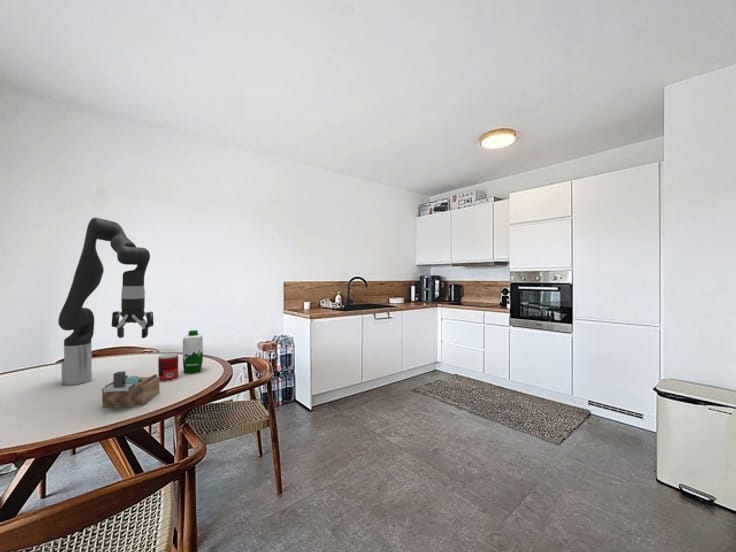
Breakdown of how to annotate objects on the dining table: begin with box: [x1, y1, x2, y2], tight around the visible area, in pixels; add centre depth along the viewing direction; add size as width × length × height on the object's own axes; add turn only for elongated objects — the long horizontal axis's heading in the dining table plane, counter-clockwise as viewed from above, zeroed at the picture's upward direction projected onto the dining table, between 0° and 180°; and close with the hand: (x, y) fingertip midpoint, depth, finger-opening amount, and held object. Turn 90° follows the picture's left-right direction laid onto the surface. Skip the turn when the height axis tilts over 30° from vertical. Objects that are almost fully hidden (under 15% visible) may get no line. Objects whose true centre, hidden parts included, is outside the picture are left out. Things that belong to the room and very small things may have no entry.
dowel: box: [126, 375, 139, 385], centre depth 125 cm, size 4×4×9 cm
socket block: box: [101, 373, 160, 408], centre depth 125 cm, size 14×12×8 cm
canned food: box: [157, 352, 179, 382], centre depth 150 cm, size 8×8×11 cm
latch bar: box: [103, 371, 135, 392], centre depth 117 cm, size 8×4×6 cm, turn 98°
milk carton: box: [182, 329, 204, 375], centre depth 161 cm, size 9×9×20 cm
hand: (132, 337), depth 128 cm, fingers open, 8 cm apart
